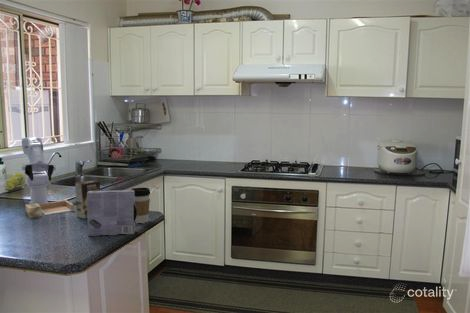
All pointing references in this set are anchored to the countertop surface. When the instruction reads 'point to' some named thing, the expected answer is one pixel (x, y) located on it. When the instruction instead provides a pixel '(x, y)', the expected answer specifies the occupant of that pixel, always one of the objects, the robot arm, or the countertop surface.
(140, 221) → the coffee cup
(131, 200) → the cake pan box
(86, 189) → the coffee box
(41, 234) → the countertop surface
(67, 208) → the arena
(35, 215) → the maple block
